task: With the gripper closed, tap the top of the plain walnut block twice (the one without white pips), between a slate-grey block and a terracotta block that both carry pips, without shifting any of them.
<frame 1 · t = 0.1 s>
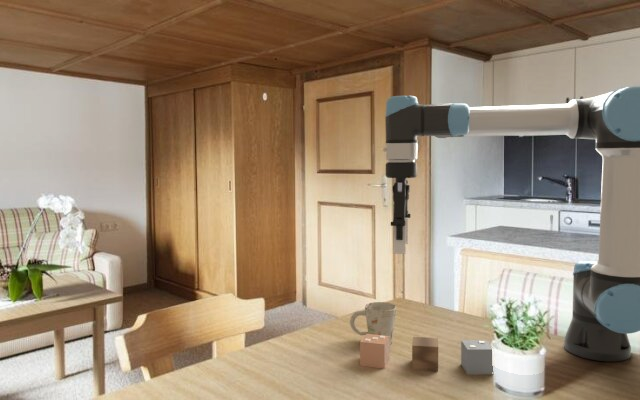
hand: (401, 248, 130), 28 cm above the table, fingers open, 13 cm apart
walnut block: (425, 366, 128), on the table
slate block: (476, 369, 126), on the table
mug: (372, 342, 145), on the table
terracotta block: (375, 362, 130), on the table
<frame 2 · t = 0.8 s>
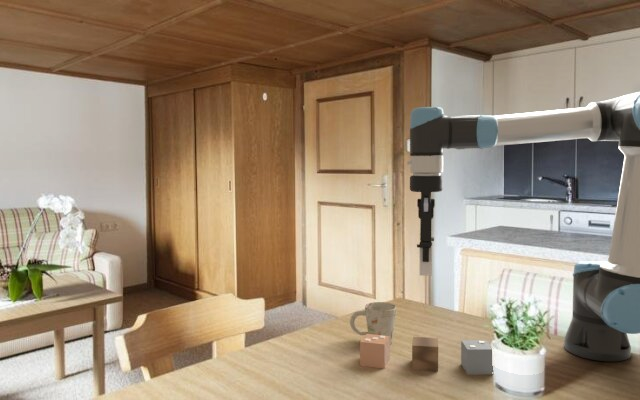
hand: (425, 271, 126), 23 cm above the table, fingers open, 7 cm apart
nothing on the table moved.
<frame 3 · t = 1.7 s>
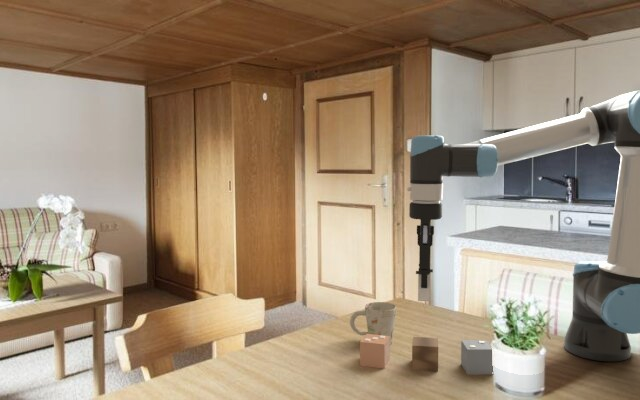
hand: (423, 300, 127), 16 cm above the table, fingers closed
nothing on the table moved.
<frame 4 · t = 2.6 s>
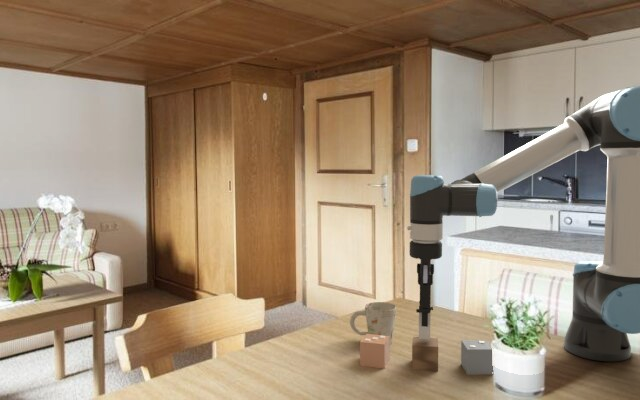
hand: (424, 337, 128), 7 cm above the table, fingers closed
nothing on the table moved.
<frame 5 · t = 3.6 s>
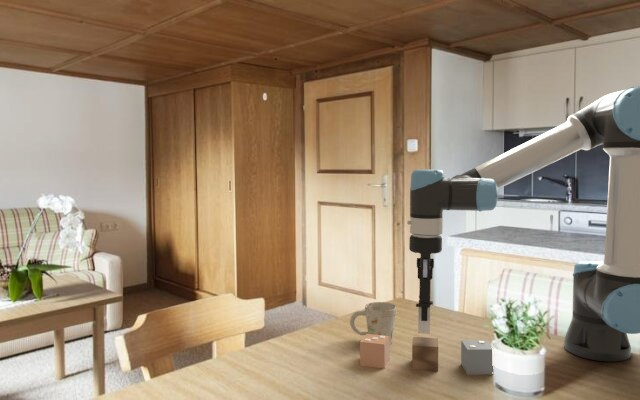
hand: (423, 332, 127), 8 cm above the table, fingers closed
nothing on the table moved.
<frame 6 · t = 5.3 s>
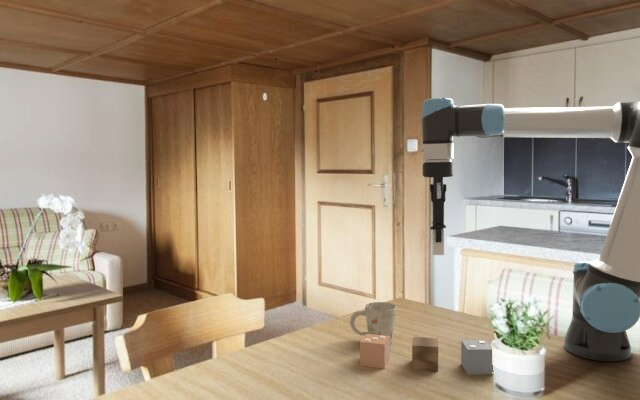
hand: (438, 254, 135), 25 cm above the table, fingers closed
nothing on the table moved.
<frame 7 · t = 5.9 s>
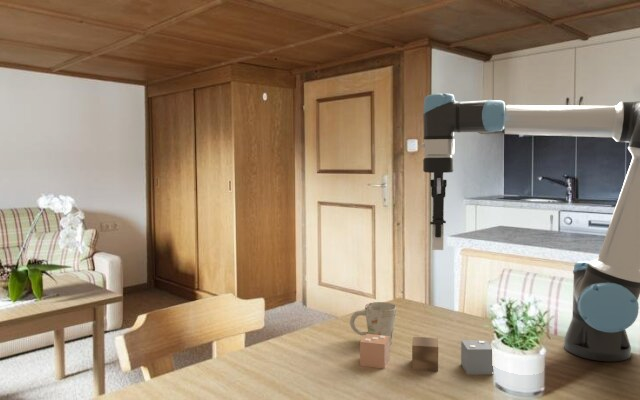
hand: (437, 249, 136), 26 cm above the table, fingers closed
nothing on the table moved.
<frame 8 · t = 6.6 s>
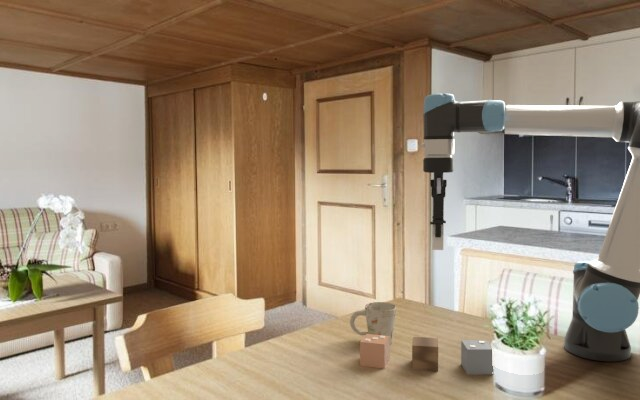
hand: (437, 249, 136), 26 cm above the table, fingers closed
nothing on the table moved.
at the end: walnut block moved 0.1 cm from its start; walnut block tilted 0°; walnut block touching table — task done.
